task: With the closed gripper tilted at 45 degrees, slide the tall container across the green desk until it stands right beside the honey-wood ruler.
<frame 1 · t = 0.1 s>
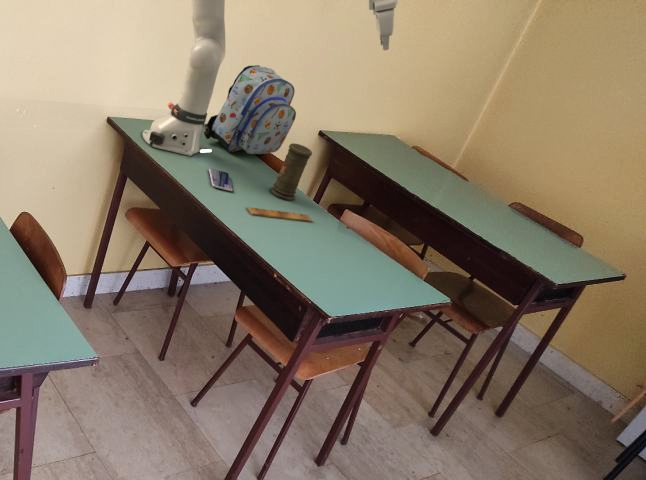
hand: (384, 47, 203), 54 cm above the table, tool tilted 30°, fingers open, 8 cm apart
container: (281, 195, 224), on the table
mobile phone: (220, 181, 217), on the table
ruler: (280, 215, 208), on the table
backpack: (243, 149, 251), on the table
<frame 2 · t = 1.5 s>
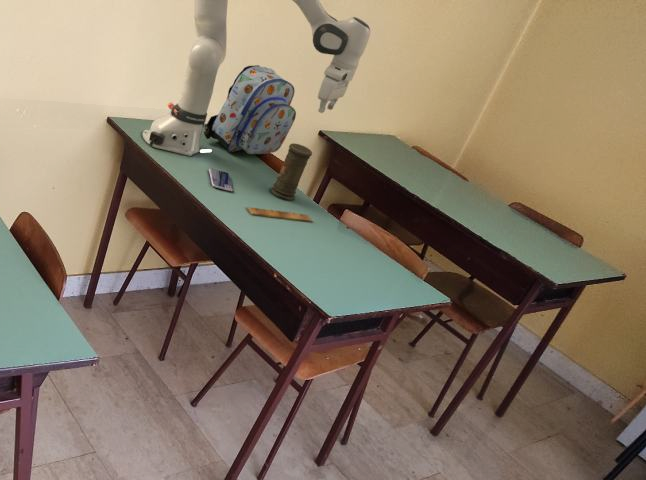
hand: (325, 110, 218), 29 cm above the table, tool pointing down, fingers open, 8 cm apart
nothing on the table moved.
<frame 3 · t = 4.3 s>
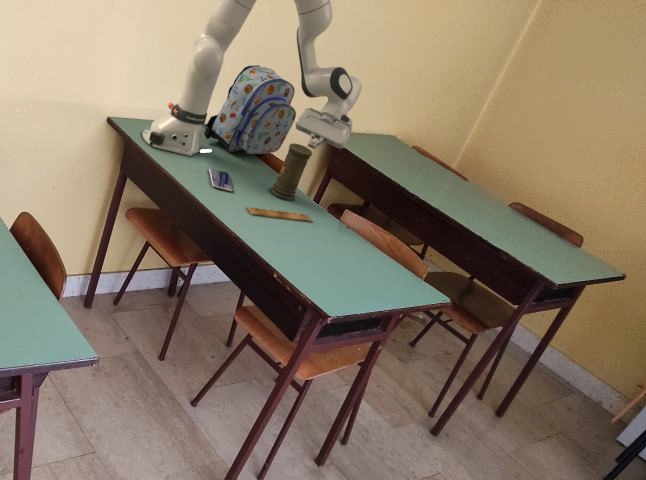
hand: (311, 146, 223), 17 cm above the table, tool tilted 45°, fingers closed
nothing on the table moved.
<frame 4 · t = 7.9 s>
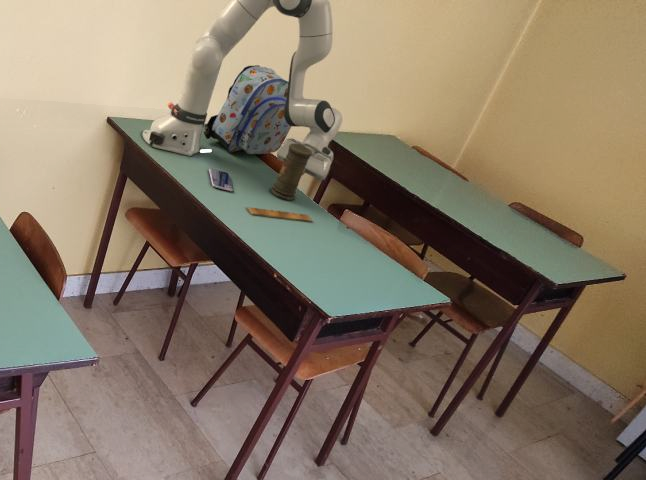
hand: (292, 177, 224), 6 cm above the table, tool tilted 45°, fingers closed, pressing on container
container: (281, 195, 224), on the table, touching gripper
everything else where it was.
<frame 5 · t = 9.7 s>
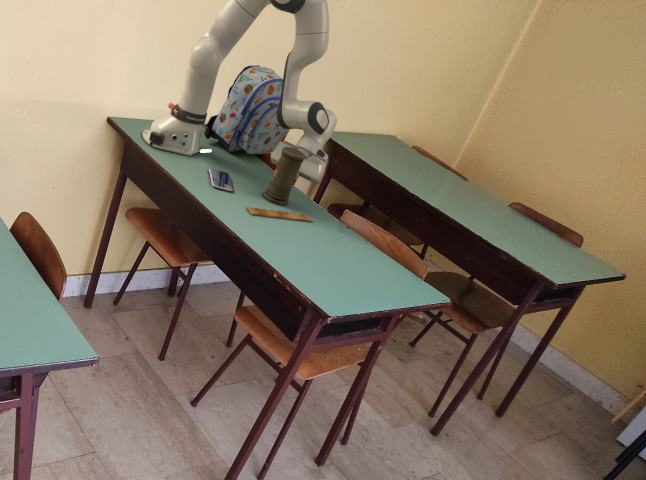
hand: (286, 181, 218), 6 cm above the table, tool tilted 45°, fingers closed, pressing on container
container: (275, 199, 219), on the table, touching gripper
everything else where it was.
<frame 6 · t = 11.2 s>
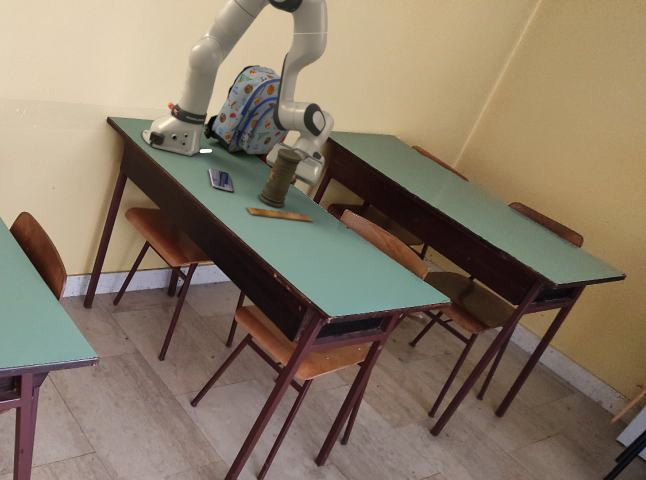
hand: (282, 183, 216), 6 cm above the table, tool tilted 45°, fingers closed
container: (270, 201, 216), on the table
everything else where it was.
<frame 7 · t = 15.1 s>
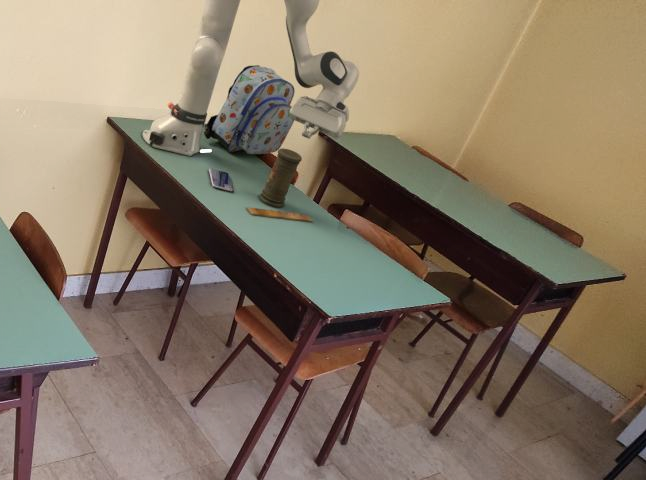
hand: (305, 136, 212), 22 cm above the table, tool tilted 45°, fingers closed
nothing on the table moved.
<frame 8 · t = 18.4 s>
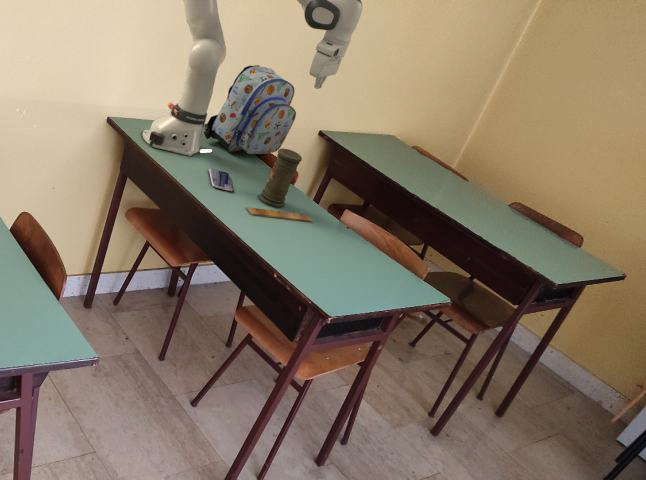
hand: (317, 88, 215), 35 cm above the table, tool pointing down, fingers closed
nothing on the table moved.
at the end: container inside the target area on the table beside the ruler (1.1 cm from its centre), on the table; container tilted 0°; ruler moved 0.0 cm from its start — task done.
